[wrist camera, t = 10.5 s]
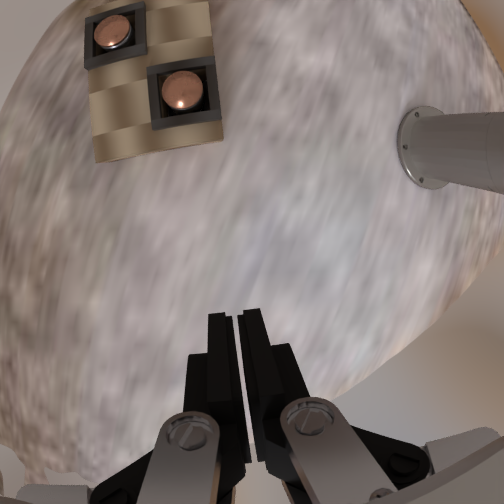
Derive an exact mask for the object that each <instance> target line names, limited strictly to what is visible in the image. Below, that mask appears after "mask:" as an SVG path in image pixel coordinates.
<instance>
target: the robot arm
mask: <svg viewBox="0 0 504 504" xmlns="http://www.w3.org/2000/svg"><path fill="white" fill-rule="evenodd" d="M397 143H398V153H399V158H400V161H401V164H402V166H403V168H404V170H405V172H406V174H407V175H408V176H409V178H410V179H411V180H412V181H413V182H414V183H415V184H417V185H419V186H420V187H423V188H426V189H439V188H442V187H444V186H445V185H447V184H448V183H449V182H450V183H455V184H460V185H465V186H469V187H474V188H478V189H483V190H487V191H491V192H495V193H499V194H503V195H504V112H481V113H462V114H448V115H445V114H444V113H442V112H441V111H440V110H438V109H436V108H434V107H430V106H422V107H417V108H415V109H412V110H411V111H410V112H408V113H407V114H406V116H405V117H404V118H403V120H402V122H401V124H400V128H399V131H398V139H397ZM237 318H238V326H239V335H240V343H241V352H242V360H243V368H244V376H245V383H246V390H247V397H248V403H249V410H250V416H251V423H252V429H253V435H254V442H255V447H256V454H257V460H258V462H262V461H265V464H266V468H267V470H268V473H270V474H272V475H273V476H276V477H277V478H279V479H281V481H282V485H283V487H284V489H285V492H286V494H287V496H288V498H289V501H290V503H291V504H504V436H502V437H501V436H500V435H499V434H498V432H496V431H495V430H493V429H491V428H487V427H481V428H477V429H474V430H471V431H467V432H464V433H461V434H458V435H454V436H450V437H446V438H442V439H438V440H434V441H430V442H426V444H425V446H421V447H418V446H415V445H413V444H410V443H406V442H403V441H399V440H396V439H392V438H389V437H385V436H382V435H379V434H376V433H372V432H369V431H366V430H363V429H360V428H357V427H354V426H351V425H350V424H349V423H348V422H347V420H346V419H345V417H344V416H343V415H342V413H341V412H340V410H339V409H338V408H337V407H336V406H335V405H334V404H333V403H331V402H330V401H328V400H326V399H322V398H318V397H310V395H309V392H308V390H307V387H306V385H305V382H304V380H303V377H302V374H301V372H300V369H299V367H298V364H297V361H296V359H295V356H294V354H293V351H292V349H291V346H290V344H289V343H286V344H279V345H272V346H271V345H270V342H269V338H268V335H267V331H266V328H265V324H264V321H263V318H262V314H261V311H260V308H258V309H249V310H243V315H237ZM245 463H252V460H251V453H250V446H249V439H248V432H247V425H246V418H245V411H244V404H243V396H242V389H241V381H240V374H239V366H238V359H237V351H236V344H235V336H234V328H233V320H232V316H226V315H225V312H223V313H213V314H208V352H207V353H201V354H189V356H188V363H187V373H186V384H185V395H184V407H183V413H179V414H176V415H174V416H172V417H170V418H169V419H168V420H167V421H166V422H165V423H164V424H163V426H162V427H161V429H160V432H159V435H158V438H157V441H156V444H155V447H154V449H153V450H152V451H150V452H149V453H147V454H146V455H144V456H143V457H141V458H140V459H138V460H137V461H135V462H134V463H132V464H131V465H129V466H127V467H126V468H124V469H123V470H121V471H120V472H118V473H116V474H115V475H113V476H112V477H110V478H108V479H107V480H105V481H103V482H102V483H100V484H99V485H98V486H97V487H95V488H89V487H88V486H87V485H44V484H27V485H25V486H23V487H22V488H21V489H20V490H19V491H18V493H17V496H16V499H13V498H8V497H3V496H0V504H235V494H236V488H235V485H236V484H237V483H238V482H239V481H240V480H242V479H243V478H244V476H245V473H246V469H245Z"/></svg>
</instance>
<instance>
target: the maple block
mask: <svg viewBox="0 0 504 504" xmlns="http://www.w3.org/2000/svg"><path fill="white" fill-rule="evenodd" d="M113 15H121V16H124V17H125V18H127V20H128V21H129V23H130V24H131V26H132V28H133V29H134V31H135V38H136V45H134V46H130V47H126V48H123V49H119V50H115V51H112V52H109V53H107V52H106V51H105V50H104V49H103V48H102V47H101V46H100V45H99V44H98V43H97V42H96V41H95V39H94V33H95V29H96V28H97V26H98V25H99V23H100V22H102V21H103V20H104V19H106V18H107V17H110V16H113ZM84 68H85V69H86V70H88V78H89V100H90V114H91V126H92V136H93V145H94V153H95V160H96V163H104V162H113V161H117V160H121V159H126V158H130V157H135V156H140V155H144V154H149V153H154V152H159V151H165V150H170V149H176V148H182V147H188V146H194V145H201V144H207V143H214V142H222V141H223V139H224V137H223V129H222V121H221V120H222V117H221V108H220V100H219V91H218V82H217V74H216V65H215V56H214V51H213V42H212V33H211V23H210V14H209V4H208V0H117V1H114V2H111V3H107V4H104V5H101V6H98V7H95V8H92V9H90V13H89V17H87V18H85V39H84ZM179 71H189V72H192V73H194V74H196V75H197V76H198V77H199V78H200V80H201V81H204V80H207V88H208V97H209V106H210V110H209V111H202V112H195V113H189V114H183V115H177V116H171V117H168V107H167V103H166V102H165V100H164V99H163V96H162V86H163V84H164V82H165V80H166V79H167V78H168V77H169V76H170V75H172V74H173V73H175V72H179Z"/></svg>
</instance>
